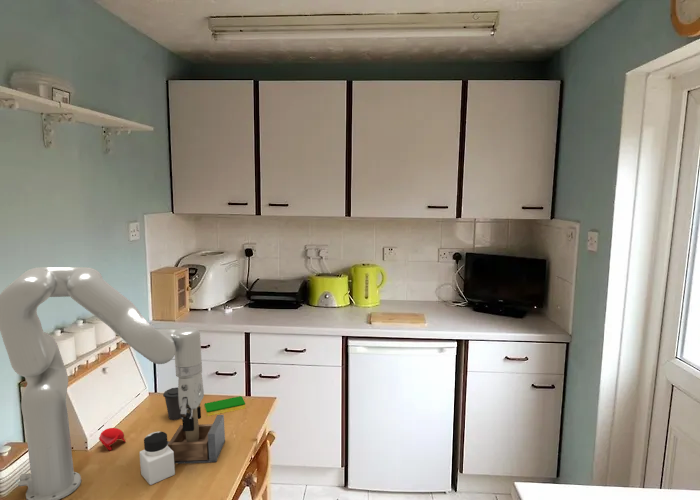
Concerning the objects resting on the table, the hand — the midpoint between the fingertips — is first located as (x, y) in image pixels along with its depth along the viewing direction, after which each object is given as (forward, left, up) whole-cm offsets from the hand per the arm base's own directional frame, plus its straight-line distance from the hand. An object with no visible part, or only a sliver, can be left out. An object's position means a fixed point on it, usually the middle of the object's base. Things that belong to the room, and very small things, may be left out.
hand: (192, 424), depth 139 cm
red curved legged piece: (-27, +6, -10) cm, 29 cm away
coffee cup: (-13, +24, -9) cm, 28 cm away
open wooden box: (0, 0, -9) cm, 9 cm away
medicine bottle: (-7, -11, -9) cm, 16 cm away
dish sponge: (+3, +29, -10) cm, 30 cm away
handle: (0, 0, -8) cm, 8 cm away
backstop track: (-2, 0, -9) cm, 10 cm away
